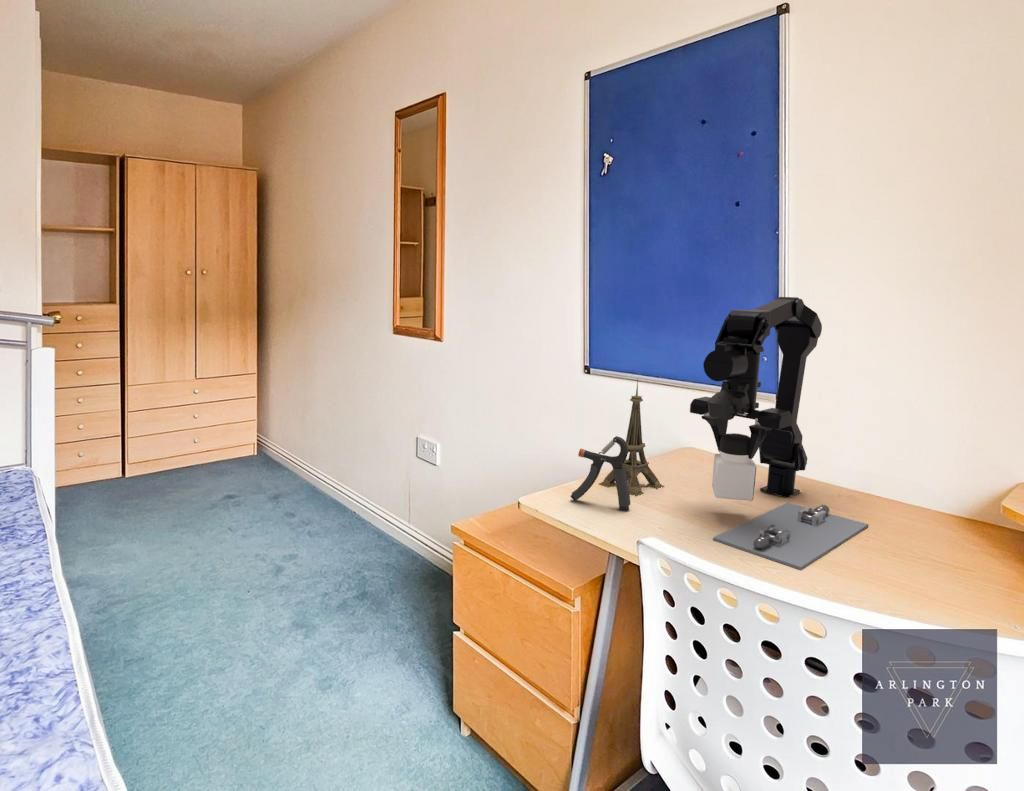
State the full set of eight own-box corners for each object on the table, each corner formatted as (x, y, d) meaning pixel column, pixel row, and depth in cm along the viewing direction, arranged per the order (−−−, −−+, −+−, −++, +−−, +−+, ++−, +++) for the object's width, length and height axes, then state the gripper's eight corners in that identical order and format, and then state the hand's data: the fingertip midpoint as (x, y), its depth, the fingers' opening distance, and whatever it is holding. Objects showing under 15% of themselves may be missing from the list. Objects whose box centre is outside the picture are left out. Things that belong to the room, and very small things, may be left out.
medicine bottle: (753, 501, 125) (759, 441, 123) (714, 498, 126) (719, 438, 124) (748, 489, 132) (753, 432, 129) (711, 486, 133) (716, 429, 131)
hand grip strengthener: (572, 498, 138) (575, 430, 136) (630, 508, 133) (634, 437, 130) (569, 502, 136) (572, 432, 134) (627, 512, 131) (632, 440, 128)
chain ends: (816, 510, 133) (817, 501, 133) (834, 515, 131) (835, 506, 130) (746, 547, 114) (747, 536, 113) (766, 554, 111) (767, 543, 111)
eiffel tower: (626, 476, 156) (633, 373, 151) (664, 487, 148) (671, 379, 144) (598, 484, 149) (603, 376, 144) (636, 496, 141) (643, 383, 137)
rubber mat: (787, 504, 138) (787, 502, 138) (868, 526, 126) (868, 524, 126) (712, 539, 118) (713, 537, 118) (800, 569, 106) (800, 567, 106)
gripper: (676, 373, 126) (671, 451, 129) (768, 387, 112) (760, 473, 115) (707, 369, 133) (702, 442, 136) (797, 381, 120) (789, 462, 123)
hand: (735, 454), depth 127 cm, fingers closed on medicine bottle, 6 cm apart
